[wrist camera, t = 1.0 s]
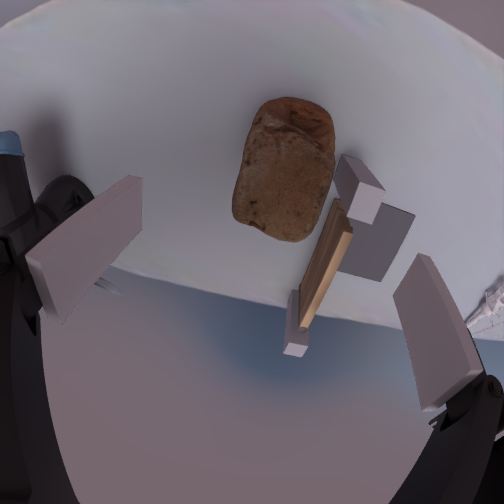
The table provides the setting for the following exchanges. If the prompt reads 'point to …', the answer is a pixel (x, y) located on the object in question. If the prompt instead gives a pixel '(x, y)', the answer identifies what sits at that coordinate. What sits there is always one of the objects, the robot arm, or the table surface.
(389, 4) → the table surface
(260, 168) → the brown oblong lump
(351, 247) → the mat
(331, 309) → the table surface
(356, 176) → the door frame
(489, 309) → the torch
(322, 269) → the door
